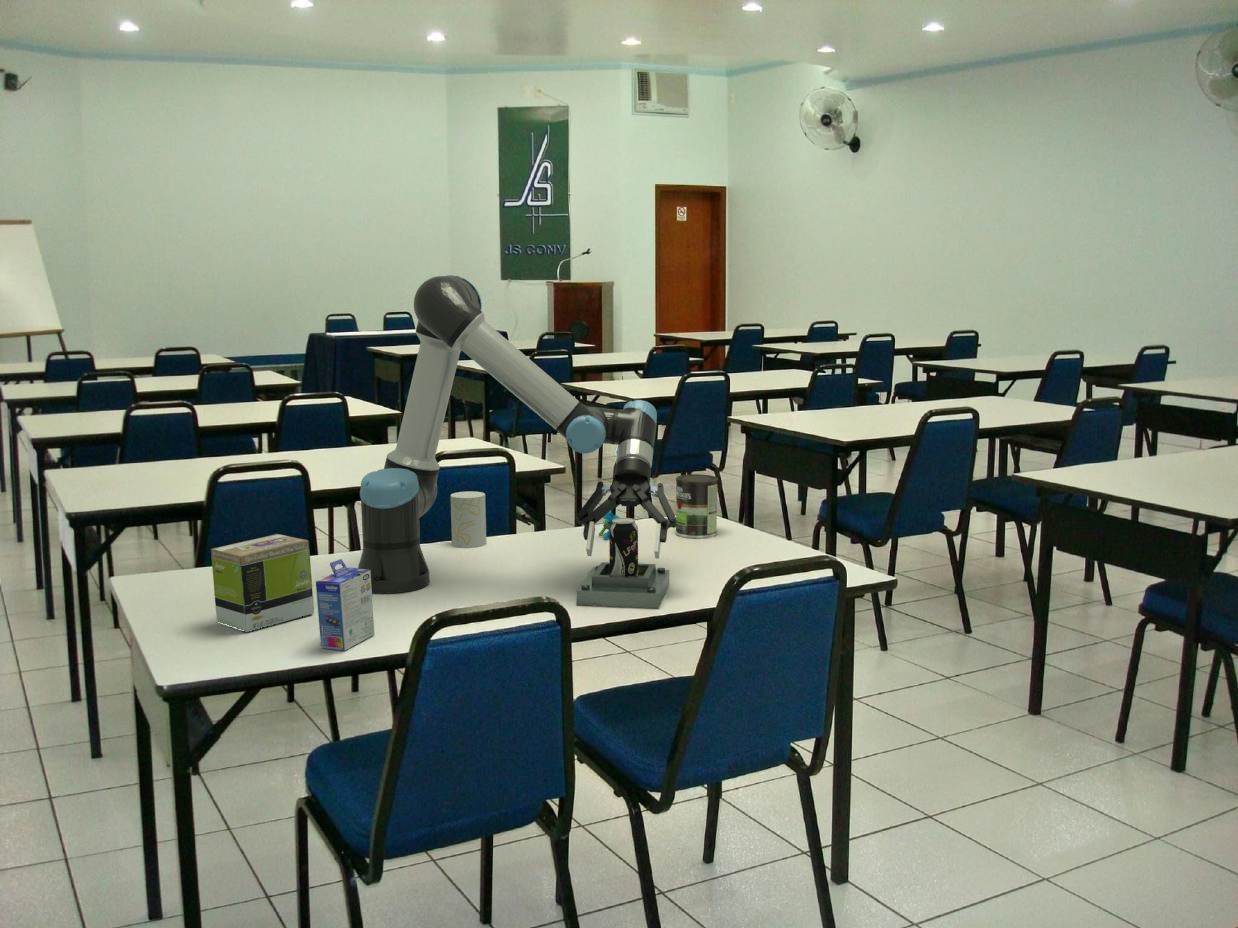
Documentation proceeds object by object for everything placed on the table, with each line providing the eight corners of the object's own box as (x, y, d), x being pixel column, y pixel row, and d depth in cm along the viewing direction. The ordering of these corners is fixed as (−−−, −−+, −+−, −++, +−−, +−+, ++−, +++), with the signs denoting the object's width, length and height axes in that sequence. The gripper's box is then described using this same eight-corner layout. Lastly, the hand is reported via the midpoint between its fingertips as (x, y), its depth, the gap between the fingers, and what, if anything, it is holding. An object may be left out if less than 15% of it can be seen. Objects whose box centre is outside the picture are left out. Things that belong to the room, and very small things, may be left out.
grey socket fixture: (593, 581, 243) (593, 557, 242) (669, 583, 240) (669, 560, 239) (576, 605, 225) (576, 580, 224) (658, 608, 223) (658, 583, 222)
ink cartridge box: (349, 631, 210) (345, 553, 207) (376, 634, 208) (372, 556, 205) (317, 648, 200) (313, 567, 198) (345, 651, 199) (341, 569, 196)
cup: (446, 546, 274) (444, 496, 272) (460, 539, 282) (459, 490, 280) (478, 548, 272) (476, 498, 270) (491, 541, 279) (490, 492, 277)
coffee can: (689, 540, 279) (689, 482, 277) (667, 532, 288) (668, 476, 286) (725, 535, 284) (726, 479, 281) (703, 527, 293) (703, 472, 290)
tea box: (283, 605, 226) (279, 531, 224) (315, 615, 220) (311, 539, 217) (214, 624, 215) (209, 546, 212) (245, 634, 208) (240, 554, 206)
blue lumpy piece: (641, 534, 278) (613, 507, 275) (626, 553, 277) (597, 526, 274) (624, 531, 289) (596, 505, 286) (609, 549, 287) (581, 523, 284)
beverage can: (621, 583, 228) (621, 524, 226) (603, 577, 233) (603, 519, 231) (644, 578, 232) (643, 520, 230) (626, 573, 236) (626, 515, 234)
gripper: (694, 478, 242) (686, 565, 230) (577, 475, 246) (563, 561, 234) (691, 457, 236) (683, 545, 224) (572, 454, 240) (557, 541, 228)
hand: (622, 554), depth 229 cm, fingers open, 13 cm apart
